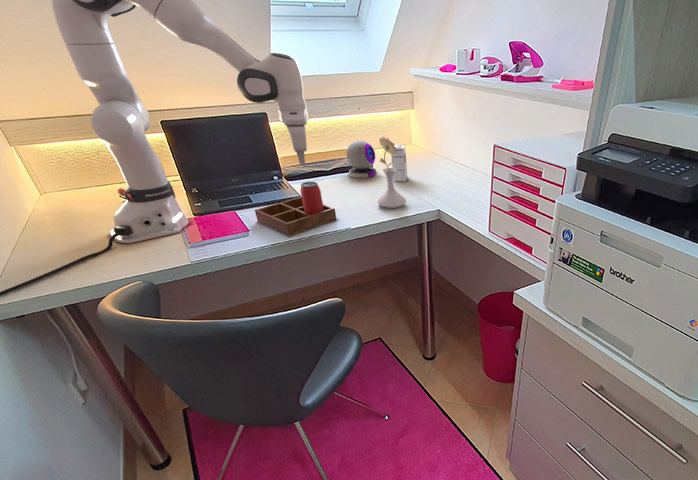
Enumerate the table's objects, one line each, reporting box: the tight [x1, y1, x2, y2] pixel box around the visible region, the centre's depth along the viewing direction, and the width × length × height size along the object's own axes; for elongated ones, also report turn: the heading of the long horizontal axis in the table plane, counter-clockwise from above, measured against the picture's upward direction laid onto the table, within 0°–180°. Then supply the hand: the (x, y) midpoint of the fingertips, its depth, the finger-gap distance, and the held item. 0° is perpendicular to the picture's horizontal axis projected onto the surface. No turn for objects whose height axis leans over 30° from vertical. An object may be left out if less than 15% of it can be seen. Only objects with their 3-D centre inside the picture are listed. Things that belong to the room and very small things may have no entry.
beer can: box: [300, 181, 324, 215], centre depth 149 cm, size 7×7×12 cm
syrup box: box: [390, 144, 408, 182], centre depth 191 cm, size 6×6×14 cm
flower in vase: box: [377, 136, 407, 209], centre depth 161 cm, size 13×11×25 cm
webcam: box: [346, 139, 377, 179], centre depth 196 cm, size 13×13×15 cm
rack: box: [254, 195, 337, 238], centre depth 151 cm, size 19×19×4 cm
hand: (301, 159), depth 141 cm, fingers open, 8 cm apart
